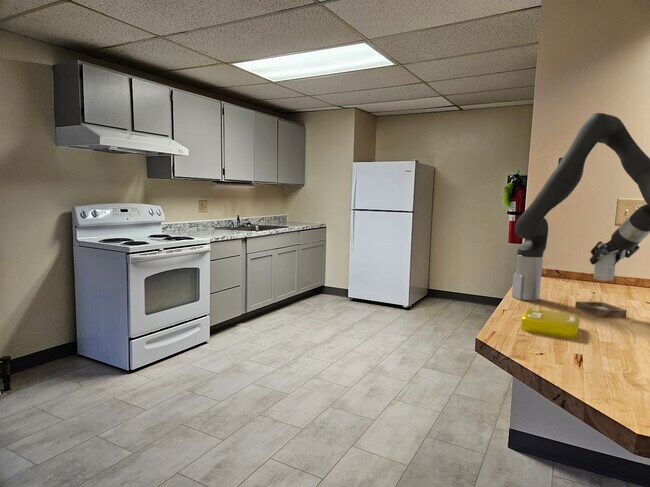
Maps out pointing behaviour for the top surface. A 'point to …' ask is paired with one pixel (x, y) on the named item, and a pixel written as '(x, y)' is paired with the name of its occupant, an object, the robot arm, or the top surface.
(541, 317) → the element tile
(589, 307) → the seat block
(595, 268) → the skincare box
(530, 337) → the top surface
